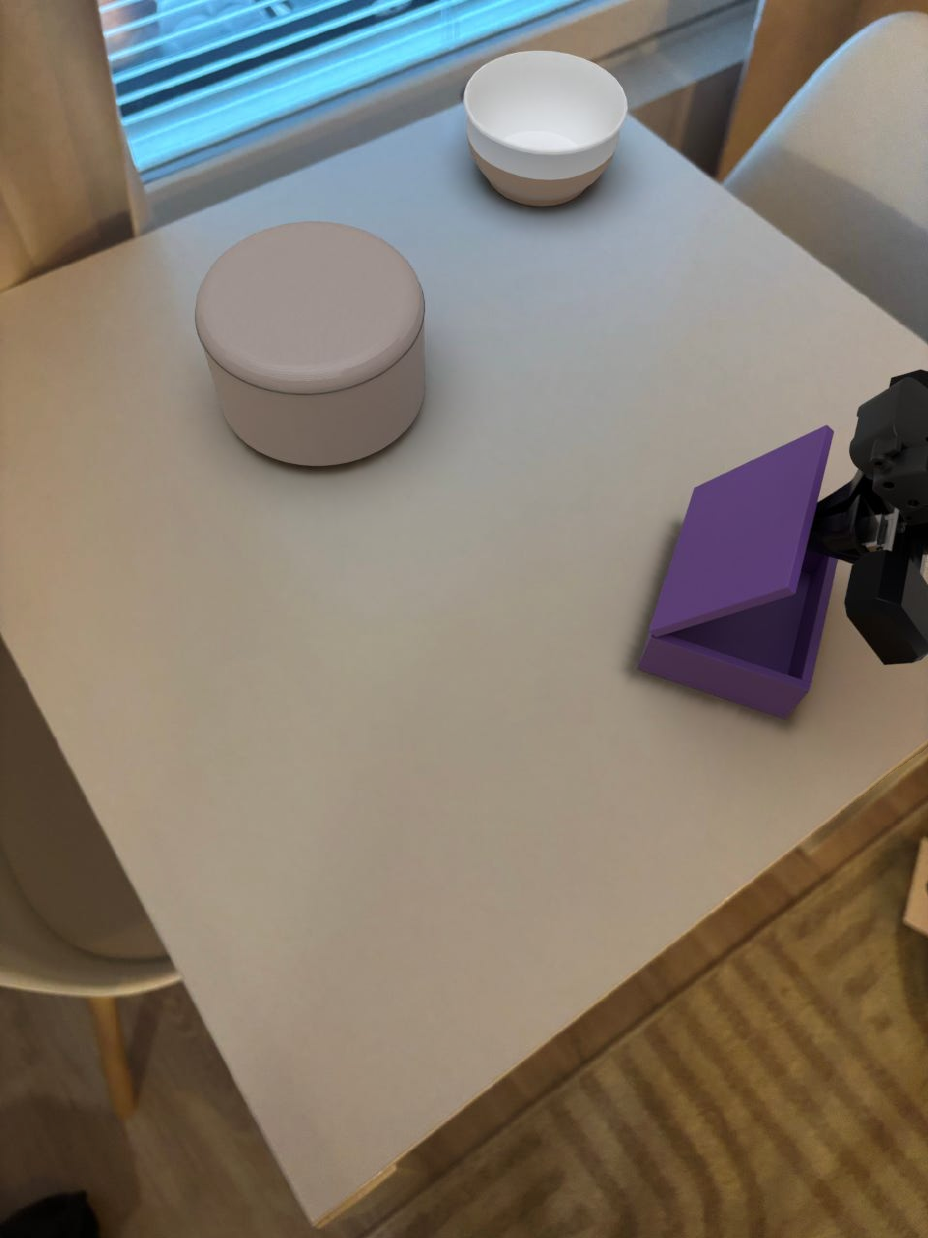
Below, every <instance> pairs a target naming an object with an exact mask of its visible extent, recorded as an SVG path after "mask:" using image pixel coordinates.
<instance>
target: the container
mask: <svg viewBox="0 0 928 1238" xmlns="http://www.w3.org/2000/svg"><path fill="white" fill-rule="evenodd" d="M196 296H197V297H196V301H195V309H194V324H195V329H196V333H197V336H198V339H199V341H200V343H201V346H202V349H203V352H204V355H205V360H206V362H207V363H206V364H207V367H208V369H209V373H210V375H211V378H212V382H213V386H214V389H215V392H216V395H217V398H218V402H219V405H220V409H221V411H222V414H223V416H224V418H225V420H226V423H227V425H229V427H230V428H231V430H232V431H233V432H234V434H236V435H237V436H238V438H239V439H240V440H241V441H243V442H244V443H245V444H247V445H248V446H249V447H251V448H252V449H253V450H255V451H257V452H259V453H260V454H263V455H265V456H267V457H269V458H272V459H274V460H277V461H281V462H284V463H288V464H294V465H299V466H309V467H310V466H311V467H321V466H322V467H324V466H333V465H334V466H336V465H340V464H347V463H350V462H354V461H357V460H361V459H363V458H366V457H369V456H371V455H373V454H375V453H377V452H379V451H381V450H383V449H384V448H386V447H388V446H389V445H391V444H392V443H393V442H395V441H396V440H397V439H398V438H399V437H401V436H402V435H403V434H404V432H406V431H407V429H408V428H410V426H411V425H412V424H413V422H414V420H415V419H416V417H417V415H418V414H419V412H420V409H421V407H422V405H423V401H424V398H425V392H426V349H425V348H426V345H425V344H426V341H425V336H426V335H425V315H426V300H425V294H424V290H423V288H422V285H421V282H420V280H419V278H418V276H417V274H416V272H415V270H414V268H413V267H412V265H411V264H410V262H409V261H408V260H407V259H406V258H405V256H403V254H402V253H401V252H400V251H399V250H397V248H395V247H394V246H393V245H392V244H390V243H389V242H387V241H386V240H384V239H383V238H381V237H380V236H377V235H376V234H373V233H371V232H369V231H366V230H364V229H361V228H357V227H354V226H352V225H347V224H343V223H339V222H338V223H337V222H333V221H332V222H330V221H319V220H318V221H297V222H290V223H284V224H280V225H274V226H272V227H269V228H264V229H263V230H260V231H258V232H255V233H252V234H251V235H249V236H247V237H245V238H243V239H241V240H240V241H237V243H235V244H233V245H232V246H230V248H228V249H227V250H225V251H224V252H223V253H222V254H221V255H220V256H219V257H218V258H217V259H216V260H215V261H214V263H213V264H212V265H211V266H210V267H209V269H208V271H207V272H206V273H205V275H204V278H203V280H202V282H201V284H200V286H199V288H198V292H197V295H196Z"/></svg>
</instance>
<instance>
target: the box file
mask: <svg viewBox="0 0 928 1238" xmlns="http://www.w3.org/2000/svg"><path fill="white" fill-rule="evenodd" d="M838 563H839V559H835V558H832V557H828V556H825V555H821V554H818V553H814V552H810V551H807V550H806V552H805V556H804V560H803V564H802V569H801V573H800V577H799V581H798V585H797V589H796V593H795V594H794V595H791V596H788V597H784V598H781V599H778V600H775V601H771V602H768V603H765V604H762V605H759V606H755V607H752V608H749V609H746V610H742V611H739V612H736V613H733V614H729V615H726V616H723V617H720V618H717V619H713V620H710V621H707V622H704V623H700V624H697V625H694V626H691V627H687V628H684V629H681V630H678V631H675V632H671V633H668V634H665V635H662V636H658V637H655V636H654V635H652V634H651V633H650V632H649V631H648V633H647V636H646V639H645V642H644V645H643V648H642V652H641V655H640V658H639V661H638V664H637V667H636V669H637V670H639V671H643V672H645V673H649V674H651V675H654V676H657V677H660V678H663V679H665V680H668V681H672V682H674V683H677V684H680V685H683V686H687V687H689V688H692V689H695V690H697V691H701V692H704V693H706V694H709V695H712V696H716V697H718V698H721V699H724V700H728V701H730V702H733V703H736V704H738V705H742V706H744V707H748V708H750V709H754V710H757V711H760V712H762V713H765V714H769V715H771V716H774V717H777V718H780V719H783V720H786V719H787V718H788V716H789V715H790V714H791V713H792V712H793V711H794V710H795V709H796V707H797V706H798V705H799V704H800V703H801V701H802V700H804V698H805V697H806V696H807V694H808V693H809V692H811V691H810V690H811V686H812V681H813V677H814V672H815V668H816V665H817V664H816V663H817V659H818V654H819V650H820V645H821V640H822V635H823V633H824V628H825V622H826V618H827V612H828V608H829V604H830V599H831V595H832V591H833V585H834V581H835V576H836V573H837V567H838Z"/></svg>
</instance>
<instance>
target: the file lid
mask: <svg viewBox="0 0 928 1238" xmlns="http://www.w3.org/2000/svg"><path fill="white" fill-rule="evenodd" d="M834 435H835V431H834V429H833V428H831V426H830V425H828V424H825V425H823V426H820V427H819V428H817V429H814V430H813V431H811V432H808V433H806V434H804V435H802V436H799V437H798V438H796V439H794V440H791V441H789V442H787V443H785V444H783V445H781V446H779V447H776V448H775V449H773V450H771V451H769V452H766V453H764V454H762V455H760V456H758V457H756V458H753V459H752V460H749V461H747V462H745V463H743V464H741V465H739V466H737V467H734V468H733V469H730V470H728V471H726V472H723V473H722V474H720V475H717V476H716V477H713V478H711V479H710V480H707V481H705V482H703V483H701V484H699V485H697V486H695V487H694V488H693V491H692V493H691V497H690V500H689V503H688V505H687V506H688V507H687V509H686V513H685V516H684V519H683V522H682V526H681V528H680V531H679V535H678V537H677V541H676V544H675V547H674V550H673V553H672V557H671V560H670V563H669V566H668V569H667V572H666V575H665V578H664V582H663V585H662V587H661V591H660V594H659V597H658V600H657V603H656V607H655V610H654V613H653V616H652V620H651V622H650V625H649V629H648V632H650V633H651V634H652V635H654V636H655V637H658V636H662V635H665V634H668V633H671V632H675V631H678V630H681V629H684V628H687V627H691V626H694V625H697V624H700V623H704V622H707V621H710V620H713V619H717V618H720V617H723V616H726V615H729V614H733V613H736V612H739V611H742V610H746V609H749V608H752V607H755V606H759V605H762V604H765V603H768V602H771V601H775V600H778V599H781V598H784V597H788V596H791V595H794V594H795V593H796V589H797V585H798V581H799V577H800V573H801V569H802V564H803V560H804V556H805V552H806V548H807V543H808V539H809V535H810V531H811V527H812V523H813V518H814V514H815V510H816V506H817V502H818V501H819V497H820V492H821V488H822V485H823V480H824V476H825V471H826V468H827V464H828V460H829V455H830V451H831V447H832V442H833V438H834Z"/></svg>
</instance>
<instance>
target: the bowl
mask: <svg viewBox="0 0 928 1238" xmlns="http://www.w3.org/2000/svg"><path fill="white" fill-rule="evenodd" d="M463 91H464V92H463V98H462V99H463V108H464V111H465V113H466V127H465V132H466V137H467V144H468V148H469V151H470V154H471V156H472V158H473V160H474V162H475V163H476V166H477V167H478V169H479V171H480V172H481V173H482V174H483V175H484V176H485V177H486V178H487V179H488V181H489V183H490V185H491V186H492V188H493V189H494V190H495V191H496V192H497V193H499V194H500V195H502V196H503V197H504V198H506V199H508V200H510V201H512V202H515V203H518V204H520V205H524V206H532V207H552V206H557V205H561V204H562V205H563V204H565V203H567V202H570V201H572V200H574V199H575V198H577V197H579V196H580V195H581V194H582V193H583V192H584V191H585V190H586V188H587V187H589V186H590V185H592V184H594V182H595V181H597V180H598V178H600V176H601V175H602V174H603V173H604V171H605V170H606V169H607V168H608V167H609V165H610V163H611V161H612V160H613V157H614V154H615V151H616V149H617V147H618V143H619V139H620V131H621V128H622V127H623V125H624V124H625V122H626V120H627V115H628V112H629V111H628V110H629V107H628V105H629V104H628V98H627V96H626V93H625V90H624V89H623V86H622V85H621V84H620V83H619V81H618V80H617V78H616V77H614V76H613V75H612V74H611V73H610V72H609V71H607V70H606V69H605V68H603V67H602V66H600V65H598V64H597V63H595V62H593V61H591V60H589V59H585V58H583V57H581V56H577V55H574V54H571V53H565V52H559V51H553V50H527V51H519V52H513V53H509V54H506V55H502V56H500V57H497V58H494V59H493V60H491V61H489V62H487V63H485V64H484V65H482V66H481V67H480V68H478V70H476V71H475V72H474V73H473V74H472V76H471V77H470V78H469V80H468V81H467V83H466V86H465V88H464V90H463Z"/></svg>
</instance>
